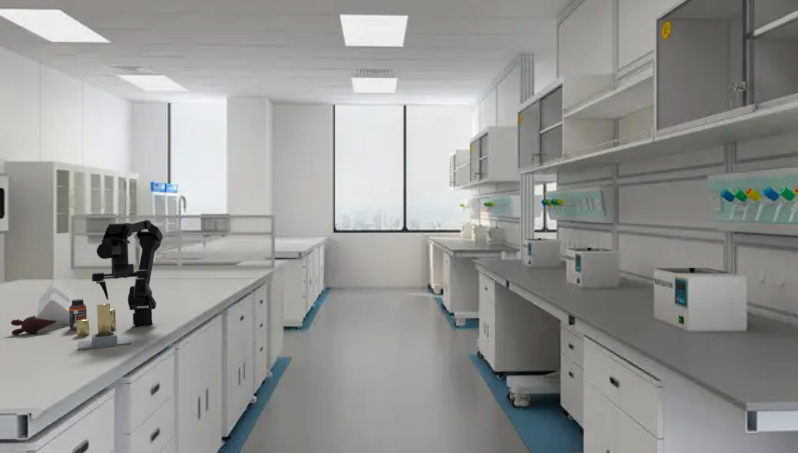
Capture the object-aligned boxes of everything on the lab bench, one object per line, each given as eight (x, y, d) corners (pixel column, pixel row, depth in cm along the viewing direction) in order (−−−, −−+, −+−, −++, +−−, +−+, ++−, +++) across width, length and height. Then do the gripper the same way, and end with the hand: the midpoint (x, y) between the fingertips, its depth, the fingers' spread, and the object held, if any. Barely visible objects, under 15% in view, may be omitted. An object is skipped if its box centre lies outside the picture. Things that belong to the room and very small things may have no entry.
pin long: (107, 340, 203) (106, 303, 202) (113, 341, 200) (112, 304, 200) (96, 342, 200) (94, 304, 199) (101, 343, 197) (100, 305, 197)
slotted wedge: (38, 333, 238) (31, 301, 227) (42, 313, 246) (35, 282, 235) (77, 329, 243) (71, 299, 232) (79, 310, 251) (74, 280, 240)
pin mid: (115, 328, 226) (115, 308, 226) (116, 330, 222) (115, 309, 222) (104, 329, 224) (103, 309, 224) (104, 331, 220) (103, 310, 220)
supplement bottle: (79, 330, 224) (78, 301, 224) (66, 329, 226) (64, 300, 225) (90, 327, 230) (89, 298, 230) (77, 326, 231) (76, 298, 231)
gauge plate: (129, 337, 209) (129, 329, 209) (131, 344, 198) (130, 335, 198) (78, 343, 202) (78, 334, 202) (77, 350, 191) (77, 341, 191)
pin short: (89, 333, 218) (88, 318, 218) (89, 335, 215) (88, 320, 214) (77, 334, 216) (76, 319, 216) (76, 336, 213) (76, 321, 213)
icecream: (58, 313, 227) (14, 319, 222) (52, 311, 220) (7, 318, 215) (59, 330, 226) (15, 337, 221) (54, 329, 219) (8, 336, 214)
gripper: (91, 259, 205) (92, 303, 205) (148, 256, 213) (150, 299, 214) (91, 257, 215) (93, 299, 215) (146, 254, 223) (147, 295, 223)
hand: (121, 298), depth 216 cm, fingers open, 9 cm apart
